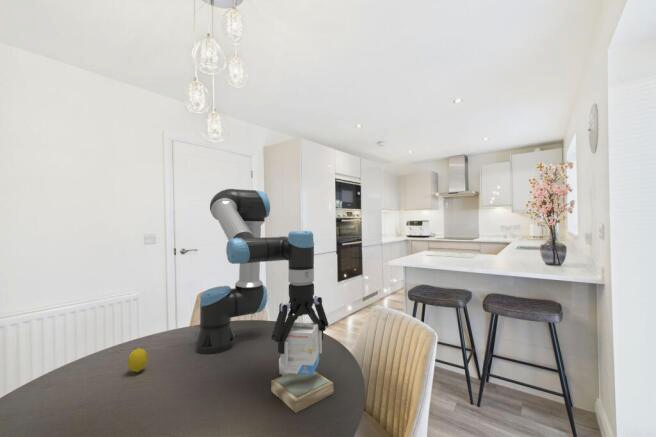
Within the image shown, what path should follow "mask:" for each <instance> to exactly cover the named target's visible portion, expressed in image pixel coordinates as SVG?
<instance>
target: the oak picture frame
mask: <svg viewBox="0 0 656 437" xmlns="http://www.w3.org/2000/svg"><path fill="white" fill-rule="evenodd" d="M270 387H271V389H270V391H271V392H272V393H273V394H274V395H275V396H276V397H279V398H278V399H280V400H281V401H282V402H283V403H284V404H285V405H286V406H288V408H290V409H291V410H292V411H293V412H294V413H295V414H297V413H299V412H301V411H303V410H304V409H306V408H309V407H310V406H311V405H312V406H313V405H314V404H316V403H318V402H320V401H322V400H324V399H326V398H328V397H329V396H331V395H333V394H334V382H333V381H331V380H330V379H327V377H324V376H323V375H321V374H320V373H318V372H317V371H315V372H314V374H313V375H306V374H293V373H289V374H287V375H284V376H283V375H281V376H279V377H277V378H275V379H272V380H271V381H270Z"/></svg>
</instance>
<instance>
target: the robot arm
mask: <svg viewBox="0 0 656 437" xmlns="http://www.w3.org/2000/svg"><path fill="white" fill-rule="evenodd" d="M209 211H210V214H211V215H212V217H213V218H214V219H215V220H216V221H218V223H219V225H220V226H221V229H222V230H223V233H224V235H225V237H226V238H227V240H228V241H227V244H226V250H225V251H226V258H227V261H228V262H229V263H230V264H233V265H235V264H239V270H238V272H239V273H238V280H237V281H236V282H235V284H234V285H235V286H234V288H231V286H229V285H222V286H220V285H219V286H215V287H212V288H208V289H206V290H204V291H203V292H202V293H201V295H200V298H199V309H200V310H199V311H200V312H199V331H198V334H197V337H196V340H195V344H194V350H195V352H196V353H199V354H202V355H203V354H204V355H209V354H210V355H211V354H212V355H213V354H219V353H222V352H225V351H227V350H230V349H231V348H233V347H234V346H235V343H236V339H235V338H236V337H235V334H234V331H233V328H232V326H231V325H232V324H231V323H232V322H231V318H236V317H241V316H243V317H244V316H247V315H248V316H249V315H254V314H258V313H261V312H262V311H263V310H265V308H266V306H267V303H268V290H267V289H268V288H266V286H265V285H264V284H263V281H262V280H261V279H260V268H261V263H262V262H263V263H264V262H278V261H288V282H289V284H288V298H289V300H288V303H279V306H278V307H279V308H278V315H277V318H276V321H275V323H274V327H273V331H272V334H271V338H270V339H271V340H273V341H274V342H276V343H277V353H278V354H280V357H279V358H281V364H282V365H284V366H285V367H286V366H288V342H287V341H285V340H286V338H287V336H288V334H289V332H290V330H291V328H292V326H293V324H294V322H296V321H297V320H298V319H299V317H302V316H305V315H306V316H308V317H309V318H310V320H311V323H316V324H318V334H319V354H322V353H323V344H322V343H323V340H324V332H325V331H326V328H328V327H329V324H330V323H329V321H328V318H327V315H326V312H325V310H324V305H323V297H320V296H318V295H317V296H316V295H315V284H314V281H315V266H314V264H315V242H314V232H312V231H311V230H291V231H288V232H289V233H288V236H274V237H273V236H272V237H268V236H267V237H264V236H263V237H261V236H262V233H261V232H262V225H263V224H264V223H265V222H266V221H265V220H266V218H267V217H269V215H270V212H271V202H270V198H269V197H268V195H267V193H266V192H264V191H260V190H253V189H252V190H251V189H237V188H227V189H223V190H221V191H219V192H217V193H216V194H214V196H213V197H212V198H211V200H210V203H209ZM313 306H314V307H315V309H314V308H313ZM315 310H316V311H315ZM316 313H317V314H316Z"/></svg>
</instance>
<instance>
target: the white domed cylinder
mask: <svg viewBox="0 0 656 437" xmlns="http://www.w3.org/2000/svg"><path fill="white" fill-rule="evenodd" d="M278 374H279V375H281V376H284V375H287V374H289V373H284V365H282V364H281V358H280V357H279V359H278Z"/></svg>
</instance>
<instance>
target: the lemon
mask: <svg viewBox="0 0 656 437" xmlns="http://www.w3.org/2000/svg"><path fill="white" fill-rule="evenodd" d="M147 363H148V354H147V351H146V350H145V349H143V348H139V347H138V348H136V349H134V350H133V351H131V353H130V354H129V356H128V358H127V367H128V369H129V371H131V372H135V373H139V372H140V371H142V370H143V369H144V368H145V367H146V366H147Z"/></svg>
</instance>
